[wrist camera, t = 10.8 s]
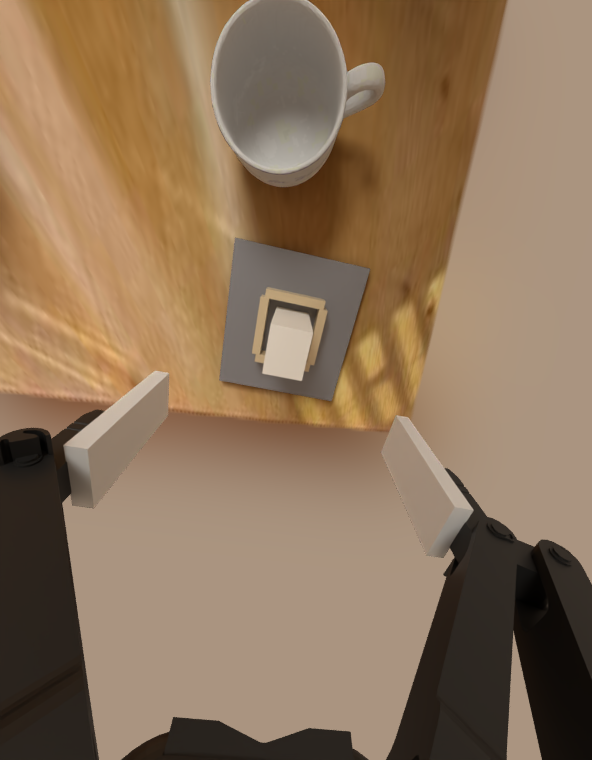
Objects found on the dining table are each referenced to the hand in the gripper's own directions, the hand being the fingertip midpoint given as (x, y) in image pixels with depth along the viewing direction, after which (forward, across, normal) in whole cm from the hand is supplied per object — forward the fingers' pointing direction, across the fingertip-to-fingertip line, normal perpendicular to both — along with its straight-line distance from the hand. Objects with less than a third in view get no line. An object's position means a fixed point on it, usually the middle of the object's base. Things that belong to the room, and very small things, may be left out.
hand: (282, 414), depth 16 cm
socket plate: (+22, 0, 0) cm, 23 cm away
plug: (+22, 0, 0) cm, 22 cm away
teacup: (+23, -3, +20) cm, 30 cm away
